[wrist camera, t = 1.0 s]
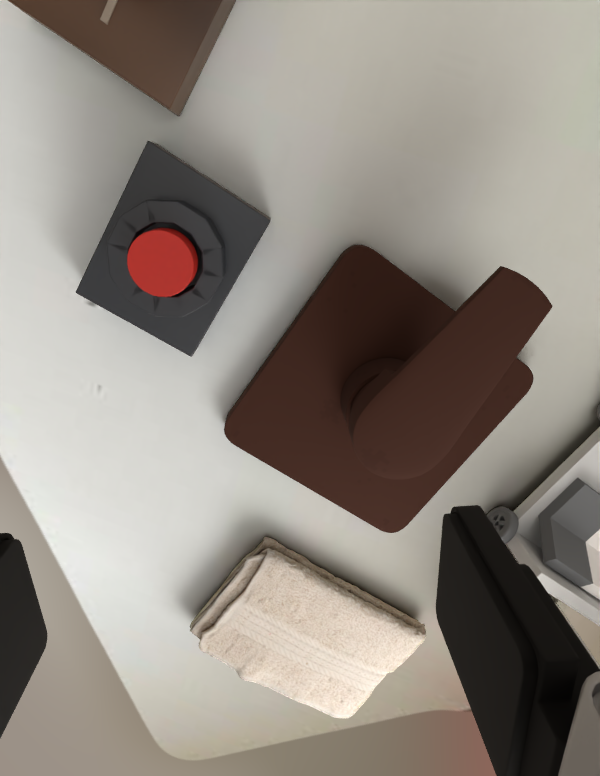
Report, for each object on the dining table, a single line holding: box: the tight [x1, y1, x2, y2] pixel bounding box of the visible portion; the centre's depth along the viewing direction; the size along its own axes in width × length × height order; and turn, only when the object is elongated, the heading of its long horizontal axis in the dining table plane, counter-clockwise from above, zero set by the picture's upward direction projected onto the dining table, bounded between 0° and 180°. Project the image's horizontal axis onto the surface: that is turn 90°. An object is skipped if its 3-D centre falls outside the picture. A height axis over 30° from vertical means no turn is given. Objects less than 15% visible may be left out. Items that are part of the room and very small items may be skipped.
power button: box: [127, 228, 198, 297], centre depth 28 cm, size 4×4×2 cm
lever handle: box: [224, 245, 552, 533], centre depth 33 cm, size 16×7×20 cm
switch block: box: [76, 141, 271, 357], centre depth 31 cm, size 10×8×4 cm
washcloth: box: [190, 537, 426, 718], centre depth 43 cm, size 12×18×3 cm, turn 55°
